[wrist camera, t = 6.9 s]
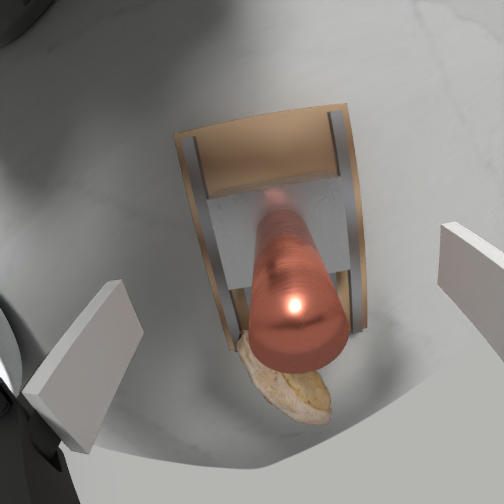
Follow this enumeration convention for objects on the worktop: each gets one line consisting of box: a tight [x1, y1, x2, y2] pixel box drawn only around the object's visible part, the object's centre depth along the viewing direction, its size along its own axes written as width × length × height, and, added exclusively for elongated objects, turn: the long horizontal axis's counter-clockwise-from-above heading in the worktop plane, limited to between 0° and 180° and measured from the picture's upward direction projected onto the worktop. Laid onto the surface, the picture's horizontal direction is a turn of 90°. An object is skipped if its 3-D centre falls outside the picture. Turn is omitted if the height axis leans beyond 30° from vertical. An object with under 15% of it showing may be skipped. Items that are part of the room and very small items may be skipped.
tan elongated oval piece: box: [237, 330, 332, 425], centre depth 25 cm, size 5×14×4 cm
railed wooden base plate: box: [174, 103, 367, 352], centre depth 23 cm, size 18×12×2 cm, turn 11°
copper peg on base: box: [207, 171, 351, 374], centre depth 16 cm, size 8×8×13 cm
